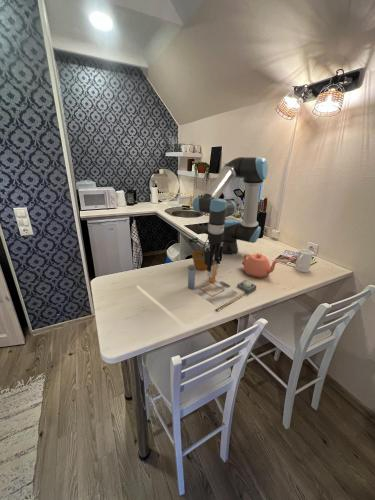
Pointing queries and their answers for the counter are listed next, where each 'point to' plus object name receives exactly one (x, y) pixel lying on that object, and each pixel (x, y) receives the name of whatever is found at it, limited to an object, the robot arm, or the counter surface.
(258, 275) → the teapot
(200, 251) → the potted plant
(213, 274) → the orange marker
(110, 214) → the counter surface
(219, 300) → the clipboard
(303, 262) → the mug
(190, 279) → the blue marker
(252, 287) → the button base
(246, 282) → the button
